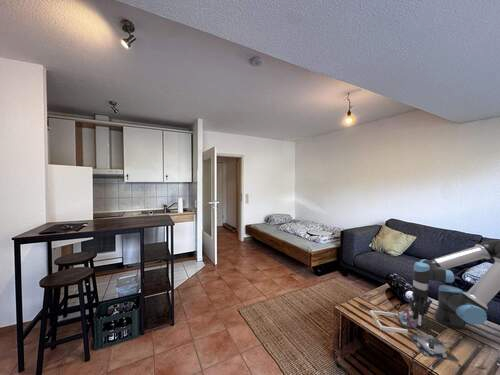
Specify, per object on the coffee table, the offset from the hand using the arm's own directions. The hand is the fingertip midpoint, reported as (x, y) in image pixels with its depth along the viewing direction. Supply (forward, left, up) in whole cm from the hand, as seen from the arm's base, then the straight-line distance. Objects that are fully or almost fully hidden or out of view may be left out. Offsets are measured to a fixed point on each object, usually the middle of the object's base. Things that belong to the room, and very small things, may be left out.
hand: (418, 323), depth 129 cm
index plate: (+3, +17, -2) cm, 18 cm away
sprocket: (+3, +17, -2) cm, 17 cm away
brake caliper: (+6, -2, -3) cm, 7 cm away
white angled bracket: (+17, 0, -2) cm, 17 cm away
